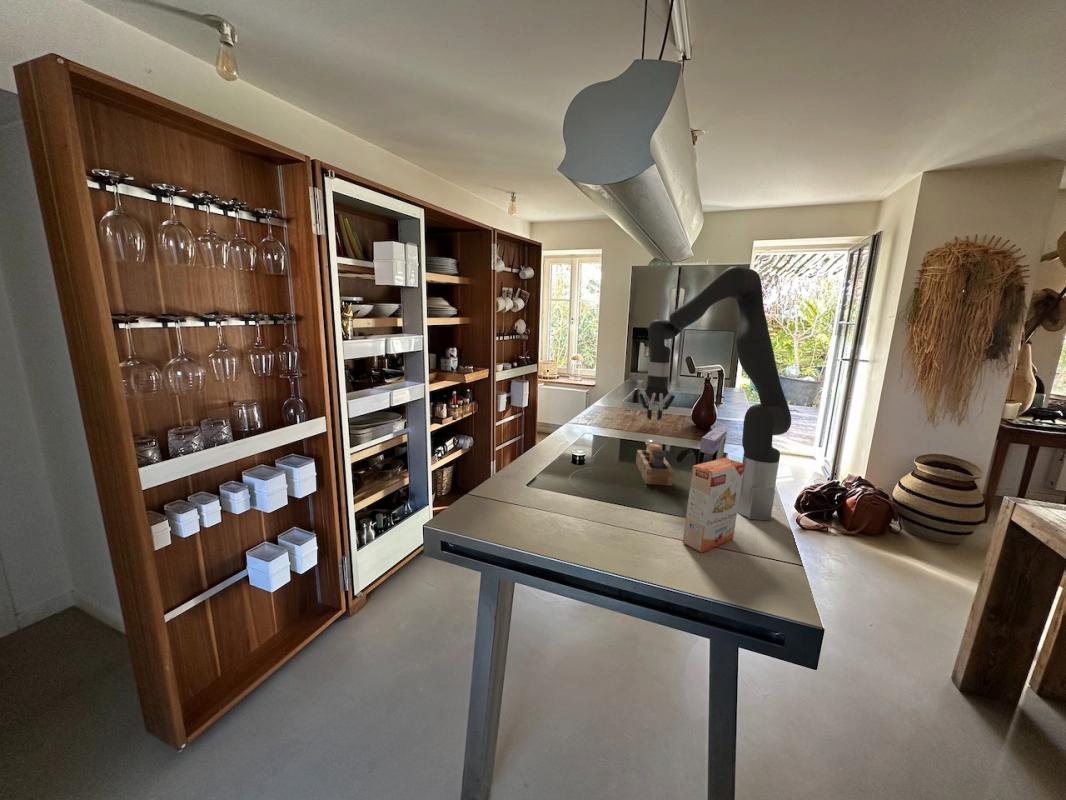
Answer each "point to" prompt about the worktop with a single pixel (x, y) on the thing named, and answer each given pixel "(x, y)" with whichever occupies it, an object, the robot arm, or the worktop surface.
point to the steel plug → (648, 442)
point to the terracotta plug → (653, 447)
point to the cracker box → (713, 503)
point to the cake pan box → (712, 446)
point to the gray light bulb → (658, 458)
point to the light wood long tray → (654, 470)
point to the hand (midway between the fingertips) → (654, 419)
